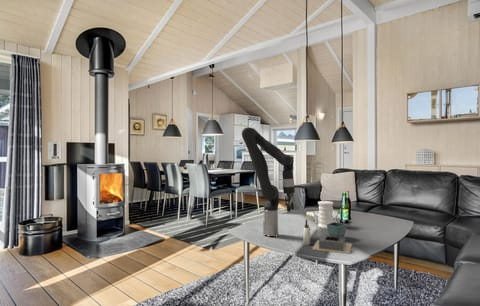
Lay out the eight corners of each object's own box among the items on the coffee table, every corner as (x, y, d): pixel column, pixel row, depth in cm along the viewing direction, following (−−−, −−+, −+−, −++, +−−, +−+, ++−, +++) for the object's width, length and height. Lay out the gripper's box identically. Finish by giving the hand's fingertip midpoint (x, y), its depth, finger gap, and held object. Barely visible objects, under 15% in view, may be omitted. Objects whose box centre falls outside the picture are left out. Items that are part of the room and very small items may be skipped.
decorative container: (337, 227, 218) (337, 202, 218) (324, 229, 214) (324, 204, 214) (327, 224, 229) (327, 200, 229) (314, 225, 225) (314, 201, 225)
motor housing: (312, 249, 169) (312, 240, 169) (317, 241, 184) (317, 233, 184) (349, 253, 161) (349, 244, 161) (352, 245, 176) (351, 236, 176)
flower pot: (338, 241, 184) (338, 226, 184) (326, 238, 192) (326, 224, 192) (347, 238, 190) (346, 224, 190) (335, 235, 197) (334, 222, 197)
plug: (302, 244, 179) (302, 219, 179) (304, 242, 182) (303, 218, 182) (309, 245, 177) (309, 220, 177) (310, 243, 181) (310, 218, 181)
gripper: (285, 184, 204) (287, 208, 203) (280, 187, 190) (282, 212, 190) (296, 184, 201) (298, 208, 200) (291, 186, 187) (293, 212, 187)
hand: (290, 210), depth 195 cm, fingers open, 8 cm apart
